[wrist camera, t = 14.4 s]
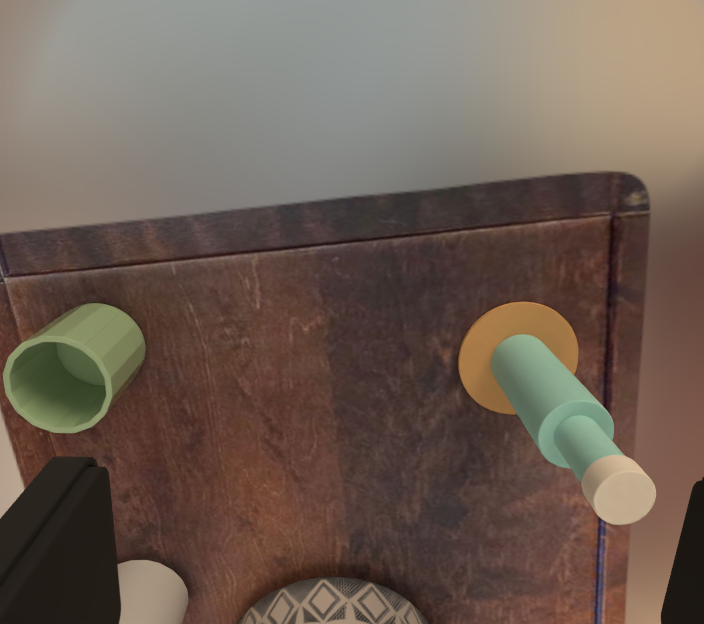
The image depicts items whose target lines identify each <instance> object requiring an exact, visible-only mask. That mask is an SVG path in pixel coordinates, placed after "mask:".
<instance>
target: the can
mask: <svg viewBox="0 0 704 624" xmlns="http://www.w3.org/2000/svg"><path fill="white" fill-rule="evenodd" d="M118 576H119V586H120V597H121V616H120V622H119V624H182V622H183V618H184V615H185V612H186V609H187V605H188V602H189V600H188V590H187V588H186V586H185V584H184V582H183V580H182V579H181V578H180V577H179V576H178V575H177V574H176V573H175V572H174V571H173V570H171V569H169V568H168V567H166V566H164V565H162V564H160V563H157V562H153V561H149V560H131V561H127V562H124V563H120V564H118Z"/></svg>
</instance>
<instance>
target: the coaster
mask: <svg viewBox="0 0 704 624" xmlns="http://www.w3.org/2000/svg"><path fill="white" fill-rule="evenodd" d="M520 334H526V335H531V336H534V337H536V338H538V339H539V340H541V341H542V342H543V343H544V344H545V345H546V346H547V348H548V349H549V350H550V351H551V352H552V353H553V354H554V355H555V356H556V357H557V358H558V359H559V360H560V361H561V362H562V363H563V365H564V366H565V367H566V368H567V369H568V370H569V371H570V372H571V373H572V374H573V375H574V373H575V371H576V367H577V363H578V344H577V340H576V337H575V334H574V332H573V330H572V328H571V326H570V325H569V324H568V322H567V321H566V320H565V319H564V318H563V317H562V316H561V315H560V314H558V313H557V312H556V311H554V310H553V309H551V308H549V307H547V306H544V305H541V304H538V303H533V302H513V303H508V304H504V305H501V306H499V307H496V308H494V309H492V310H490V311H488V312H487V313H485V314H484V315H483V316H481V317H480V318H479V319H478V320H477V321H476V322H475V323H474V324H473V325H472V326H471V327H470V329H469V330H468V332H467V333H466V335H465V337H464V339H463V341H462V343H461V346H460V350H459V355H458V370H459V374H460V378H461V381H462V383H463V385H464V387H465V389H466V390H467V392H468V393H469V395H470V396H471V397H472V398H473V399H474V400H475V401H476V402H477V403H479V404H480V405H482V406H483V407H485V408H487V409H489V410H492V411H495V412H498V413H503V414H517V413H516V411H515V410H514V408H513V406H512V405H511V403H510V402H509V400H508V398H507V397H506V395H505V394H504V392H503V390H502V389H501V387H500V385H499V384H498V382H497V381H496V379H495V377H494V376H493V374H492V371H491V357H492V355H493V352H494V350H495V349H496V347H497V346H498V345H499V344H500V343H501V342H502V341H504V340H505V339H507V338H509V337H511V336H514V335H520Z"/></svg>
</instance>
